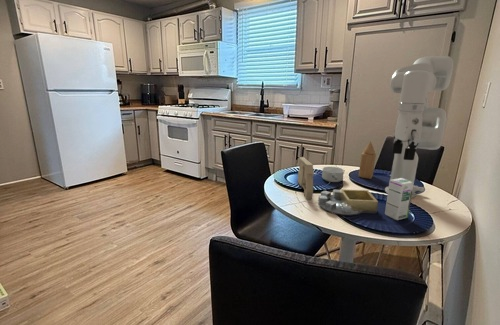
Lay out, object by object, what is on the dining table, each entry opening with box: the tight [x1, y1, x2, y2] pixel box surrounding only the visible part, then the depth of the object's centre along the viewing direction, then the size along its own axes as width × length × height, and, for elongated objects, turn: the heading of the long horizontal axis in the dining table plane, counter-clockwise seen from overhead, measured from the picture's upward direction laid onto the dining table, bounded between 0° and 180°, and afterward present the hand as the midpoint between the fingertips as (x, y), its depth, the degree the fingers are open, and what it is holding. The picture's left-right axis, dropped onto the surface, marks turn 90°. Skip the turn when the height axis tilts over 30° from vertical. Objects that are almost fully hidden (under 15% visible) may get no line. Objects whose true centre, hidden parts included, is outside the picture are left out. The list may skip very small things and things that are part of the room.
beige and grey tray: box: [317, 188, 379, 217], centre depth 109 cm, size 21×18×5 cm
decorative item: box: [358, 141, 377, 179], centre depth 144 cm, size 7×7×20 cm
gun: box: [297, 156, 315, 200], centre depth 125 cm, size 24×3×15 cm, turn 179°
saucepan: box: [321, 166, 345, 183], centre depth 137 cm, size 12×20×6 cm, turn 168°
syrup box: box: [384, 178, 415, 221], centre depth 100 cm, size 6×6×14 cm
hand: (402, 156), depth 96 cm, fingers open, 9 cm apart
